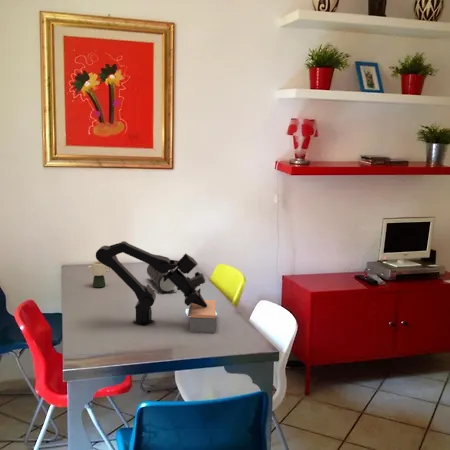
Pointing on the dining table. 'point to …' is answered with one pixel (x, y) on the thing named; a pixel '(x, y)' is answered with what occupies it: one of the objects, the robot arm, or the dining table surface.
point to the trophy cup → (98, 273)
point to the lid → (202, 310)
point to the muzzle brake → (160, 279)
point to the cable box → (202, 325)
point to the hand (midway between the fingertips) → (206, 306)
